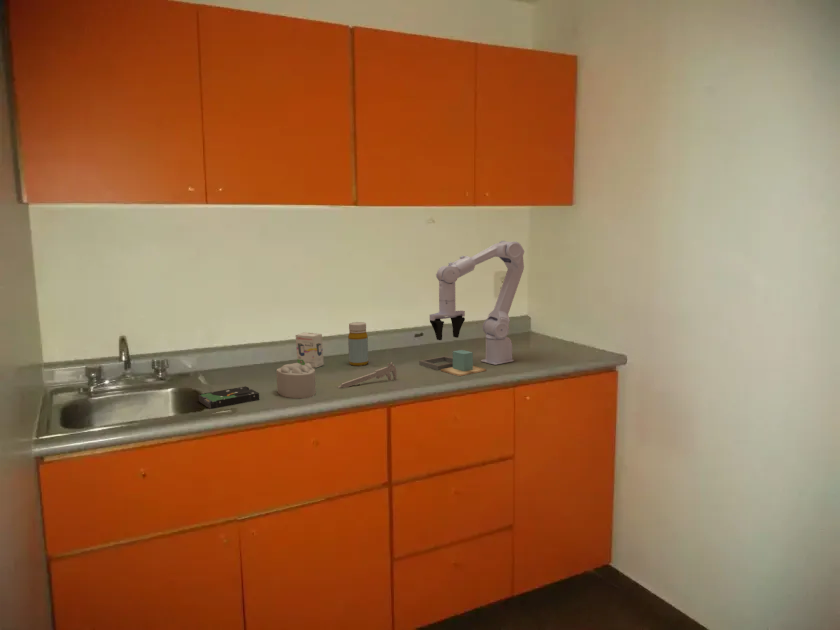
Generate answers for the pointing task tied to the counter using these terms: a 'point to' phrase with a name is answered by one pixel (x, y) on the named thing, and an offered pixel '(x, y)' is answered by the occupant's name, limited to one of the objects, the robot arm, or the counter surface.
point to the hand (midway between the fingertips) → (447, 338)
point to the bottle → (358, 344)
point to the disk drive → (228, 397)
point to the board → (461, 373)
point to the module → (463, 360)
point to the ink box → (309, 349)
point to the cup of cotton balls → (296, 380)
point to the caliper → (373, 376)
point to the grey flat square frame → (439, 359)
